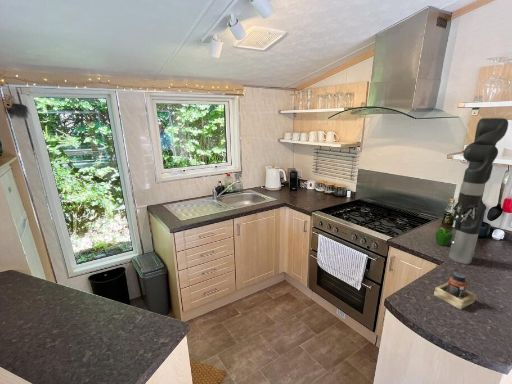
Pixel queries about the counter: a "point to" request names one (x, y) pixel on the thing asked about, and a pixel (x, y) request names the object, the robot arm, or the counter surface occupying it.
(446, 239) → the bell pepper
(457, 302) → the wooden socket
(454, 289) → the supplement bottle
